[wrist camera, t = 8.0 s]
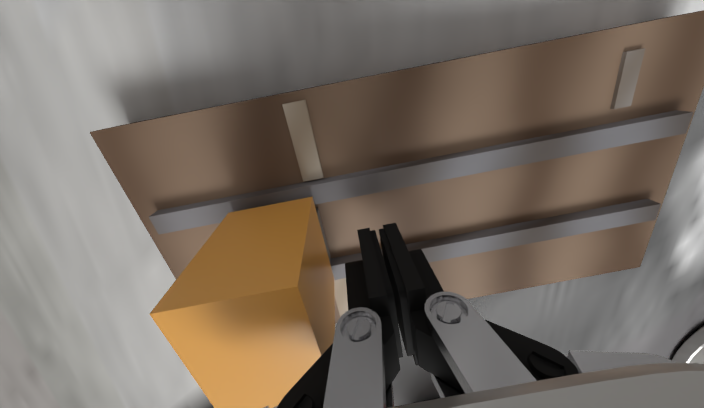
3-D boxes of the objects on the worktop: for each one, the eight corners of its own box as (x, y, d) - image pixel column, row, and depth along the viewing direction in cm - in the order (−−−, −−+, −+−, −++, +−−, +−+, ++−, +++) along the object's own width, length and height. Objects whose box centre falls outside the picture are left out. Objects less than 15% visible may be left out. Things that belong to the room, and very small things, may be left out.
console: (665, 17, 14) (756, 0, 11) (604, 245, 20) (651, 274, 17) (128, 123, 14) (75, 135, 11) (228, 315, 20) (211, 355, 17)
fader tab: (313, 190, 13) (297, 286, 7) (334, 269, 15) (335, 397, 9) (234, 205, 13) (149, 314, 7) (265, 282, 15) (221, 418, 9)
